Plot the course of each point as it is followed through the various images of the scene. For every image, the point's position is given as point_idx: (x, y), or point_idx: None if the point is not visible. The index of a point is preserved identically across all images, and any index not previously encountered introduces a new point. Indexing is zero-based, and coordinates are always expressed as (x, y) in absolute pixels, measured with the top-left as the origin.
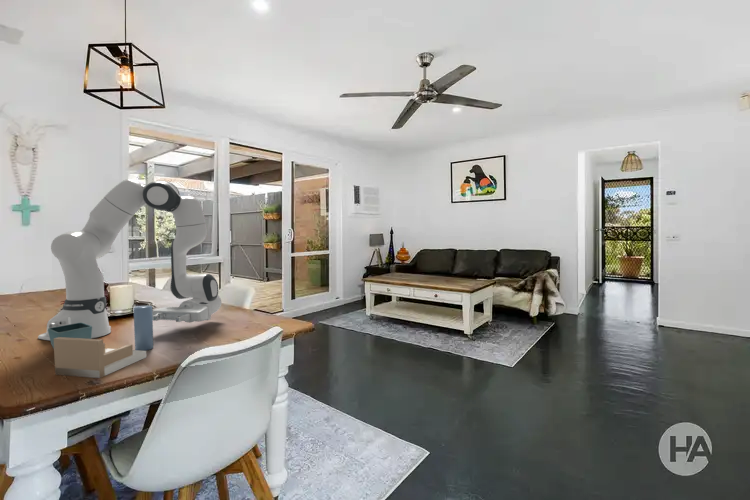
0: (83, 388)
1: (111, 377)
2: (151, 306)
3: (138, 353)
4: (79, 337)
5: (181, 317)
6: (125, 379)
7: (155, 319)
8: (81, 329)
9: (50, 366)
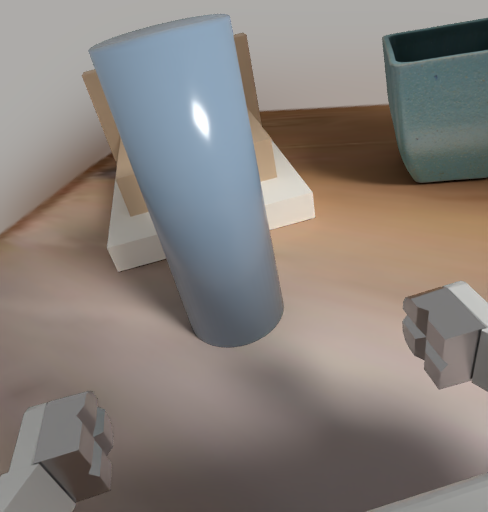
0: (111, 160)
1: (97, 189)
2: (105, 51)
3: (115, 227)
4: (390, 95)
5: (23, 450)
6: (49, 200)
7: (406, 321)
8: (387, 59)
9: (352, 139)
